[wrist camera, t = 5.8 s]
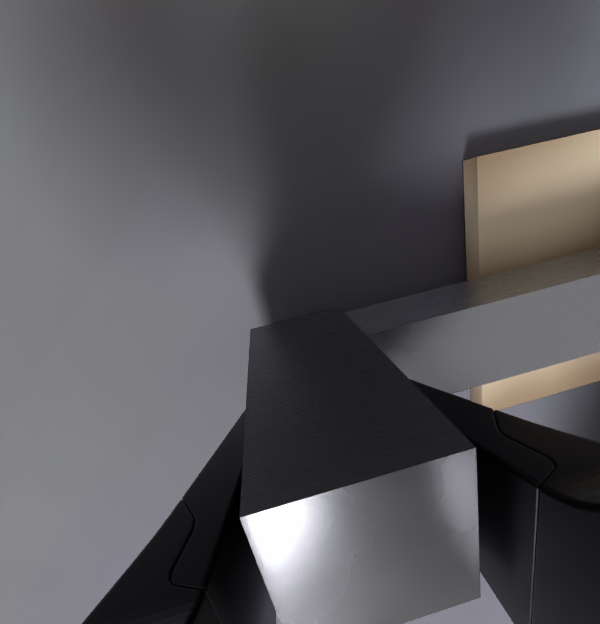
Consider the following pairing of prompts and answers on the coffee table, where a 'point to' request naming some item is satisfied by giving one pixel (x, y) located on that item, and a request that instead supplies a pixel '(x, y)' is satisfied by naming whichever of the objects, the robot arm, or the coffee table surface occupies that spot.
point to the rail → (533, 236)
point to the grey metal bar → (390, 438)
